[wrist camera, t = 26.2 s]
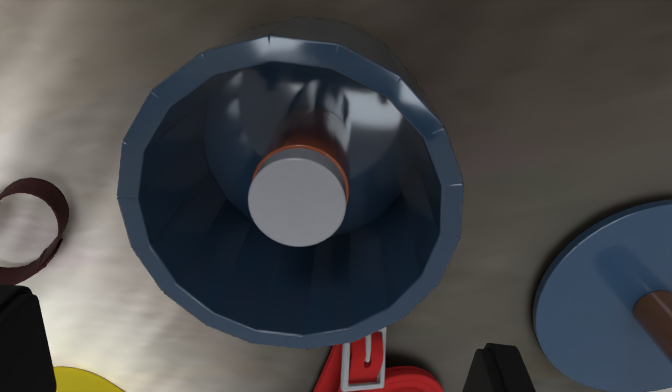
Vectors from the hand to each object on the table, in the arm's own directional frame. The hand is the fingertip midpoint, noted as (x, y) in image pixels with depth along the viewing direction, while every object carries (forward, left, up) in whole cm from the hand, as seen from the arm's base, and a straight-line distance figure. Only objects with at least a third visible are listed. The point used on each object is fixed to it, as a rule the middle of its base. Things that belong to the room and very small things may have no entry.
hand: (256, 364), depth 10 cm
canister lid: (+8, +21, -16) cm, 27 cm away
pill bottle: (0, 0, -16) cm, 16 cm away
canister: (0, 0, -16) cm, 16 cm away
